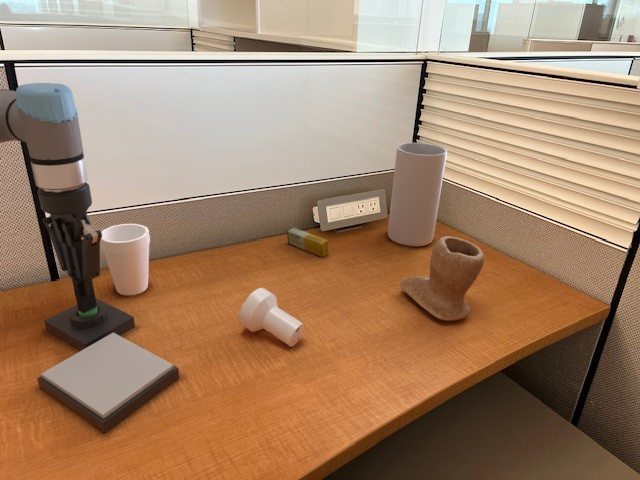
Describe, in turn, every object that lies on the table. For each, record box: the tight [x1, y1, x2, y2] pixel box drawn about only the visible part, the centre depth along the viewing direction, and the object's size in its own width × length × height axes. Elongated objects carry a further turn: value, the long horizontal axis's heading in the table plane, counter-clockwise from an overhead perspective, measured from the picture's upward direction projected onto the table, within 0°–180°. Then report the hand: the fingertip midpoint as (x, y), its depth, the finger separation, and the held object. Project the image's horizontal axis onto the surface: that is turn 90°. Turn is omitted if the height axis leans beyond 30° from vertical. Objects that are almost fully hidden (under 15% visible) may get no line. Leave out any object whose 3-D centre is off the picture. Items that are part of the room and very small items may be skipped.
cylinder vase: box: [387, 142, 448, 248], centre depth 127 cm, size 12×12×25 cm
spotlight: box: [237, 287, 306, 347], centre depth 89 cm, size 8×11×8 cm
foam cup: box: [100, 223, 151, 296], centre depth 100 cm, size 10×9×13 cm
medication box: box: [286, 226, 329, 258], centre depth 122 cm, size 12×3×4 cm, turn 50°
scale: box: [36, 333, 180, 434], centre depth 76 cm, size 16×14×3 cm
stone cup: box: [398, 235, 485, 322], centre depth 99 cm, size 15×12×15 cm
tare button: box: [78, 306, 98, 317], centre depth 88 cm, size 3×3×2 cm
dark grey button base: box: [44, 297, 136, 352], centre depth 88 cm, size 12×10×4 cm
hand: (87, 308), depth 87 cm, fingers closed
